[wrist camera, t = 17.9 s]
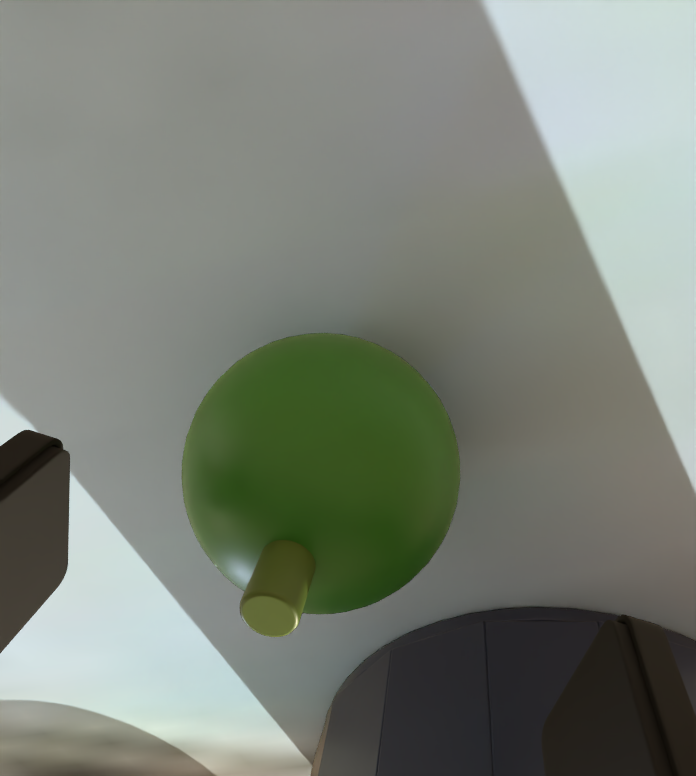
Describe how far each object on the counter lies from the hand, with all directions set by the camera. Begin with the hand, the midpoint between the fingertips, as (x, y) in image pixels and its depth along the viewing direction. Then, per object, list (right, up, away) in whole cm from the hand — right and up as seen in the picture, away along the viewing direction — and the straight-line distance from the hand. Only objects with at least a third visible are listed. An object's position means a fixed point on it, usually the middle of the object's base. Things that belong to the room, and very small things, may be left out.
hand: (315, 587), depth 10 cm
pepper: (0, +3, +6) cm, 6 cm away
